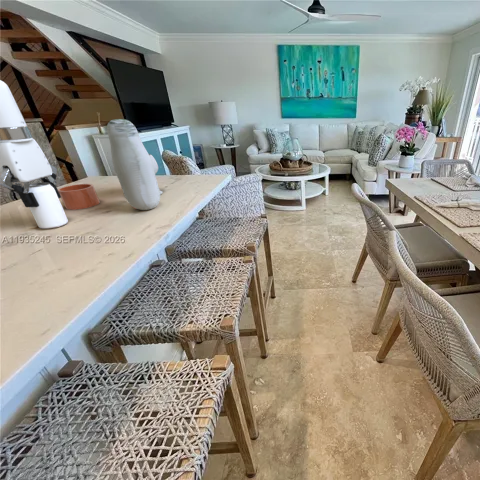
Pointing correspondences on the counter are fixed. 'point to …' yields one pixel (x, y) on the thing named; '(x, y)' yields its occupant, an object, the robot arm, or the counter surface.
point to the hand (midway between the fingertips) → (44, 201)
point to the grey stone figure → (133, 165)
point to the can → (47, 206)
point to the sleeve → (79, 196)
